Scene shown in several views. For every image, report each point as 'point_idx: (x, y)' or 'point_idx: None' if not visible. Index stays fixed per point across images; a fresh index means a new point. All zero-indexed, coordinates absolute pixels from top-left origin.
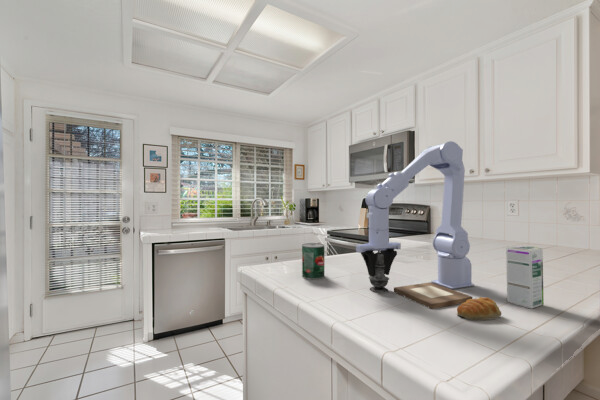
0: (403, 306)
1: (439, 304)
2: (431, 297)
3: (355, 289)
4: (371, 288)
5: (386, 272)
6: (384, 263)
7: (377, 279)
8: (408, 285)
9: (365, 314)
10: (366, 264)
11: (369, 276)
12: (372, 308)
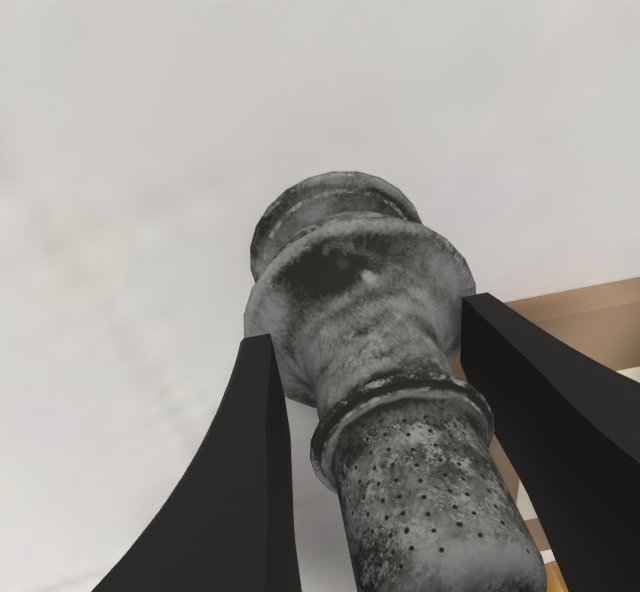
0: (319, 520)
1: None
2: (522, 517)
3: (98, 200)
4: (266, 255)
5: (470, 372)
6: (528, 413)
7: (305, 391)
8: (610, 306)
9: (55, 584)
10: (209, 445)
11: (276, 269)
12: (122, 534)
